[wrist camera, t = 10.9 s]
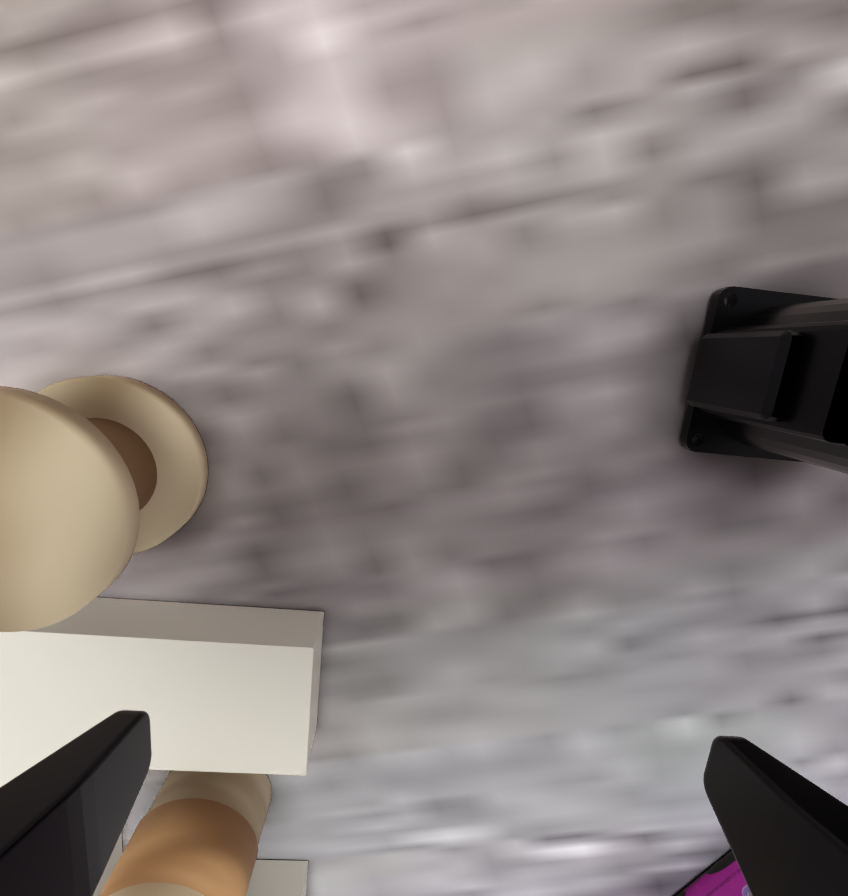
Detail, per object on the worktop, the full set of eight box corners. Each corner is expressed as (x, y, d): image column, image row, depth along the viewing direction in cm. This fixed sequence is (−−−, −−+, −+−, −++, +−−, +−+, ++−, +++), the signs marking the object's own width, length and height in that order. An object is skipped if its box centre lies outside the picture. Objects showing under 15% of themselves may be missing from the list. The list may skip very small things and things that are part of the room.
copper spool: (275, 749, 22) (204, 976, 14) (271, 837, 23) (203, 1093, 15) (162, 744, 21) (23, 974, 13) (163, 833, 22) (35, 1094, 15)
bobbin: (208, 384, 18) (115, 403, 12) (207, 550, 19) (124, 639, 13) (19, 366, 17) (-175, 376, 12) (33, 538, 19) (-134, 624, 13)
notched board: (324, 611, 20) (313, 647, 18) (302, 949, 24) (291, 1016, 22) (12, 591, 19) (-44, 627, 17) (45, 946, 23) (4, 1016, 21)
